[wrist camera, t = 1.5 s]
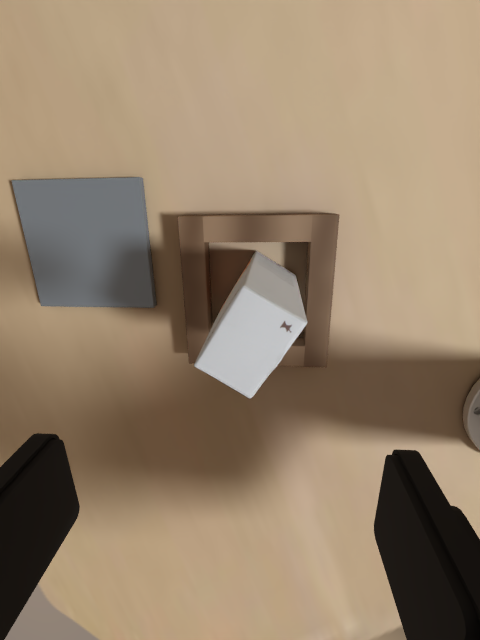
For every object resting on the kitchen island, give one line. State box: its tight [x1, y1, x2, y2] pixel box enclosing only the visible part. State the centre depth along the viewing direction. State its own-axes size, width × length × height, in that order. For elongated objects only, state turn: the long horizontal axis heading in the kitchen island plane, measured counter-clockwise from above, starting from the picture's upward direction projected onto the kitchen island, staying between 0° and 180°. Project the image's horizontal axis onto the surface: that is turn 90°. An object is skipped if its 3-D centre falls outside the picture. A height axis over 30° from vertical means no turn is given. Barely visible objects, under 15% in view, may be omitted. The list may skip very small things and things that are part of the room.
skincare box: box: [194, 251, 307, 398], centre depth 24 cm, size 6×4×12 cm
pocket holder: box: [178, 214, 339, 367], centre depth 29 cm, size 12×13×2 cm
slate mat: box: [11, 177, 157, 308], centre depth 29 cm, size 11×11×1 cm
